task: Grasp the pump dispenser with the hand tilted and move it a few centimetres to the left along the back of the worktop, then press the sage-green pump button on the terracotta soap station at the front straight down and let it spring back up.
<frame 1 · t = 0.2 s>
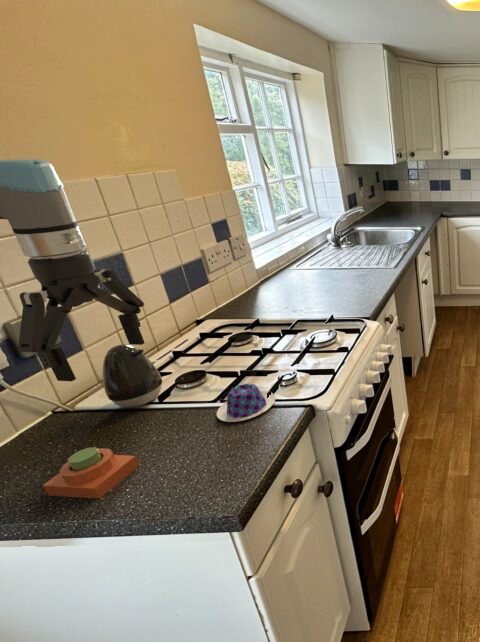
hand: (104, 360, 79), 20 cm above the countertop, tool pointing down, fingers open, 13 cm apart
button: (85, 459, 75), point 5 cm above the countertop, slide at 0.1 cm
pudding: (247, 408, 98), on the countertop
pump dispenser: (141, 401, 100), on the countertop
soap station: (96, 479, 77), on the countertop
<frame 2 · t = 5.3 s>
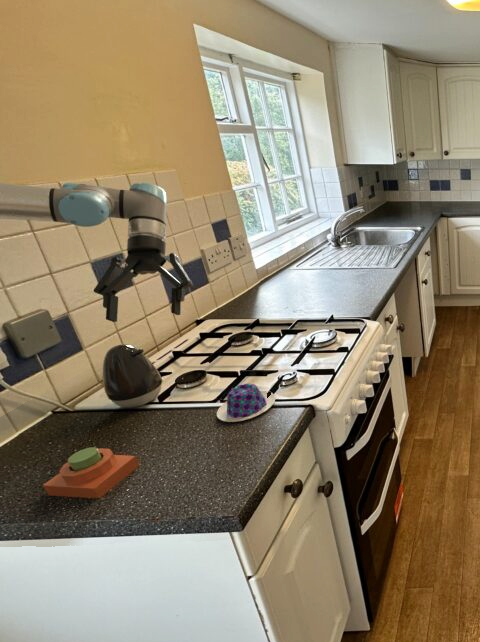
hand: (144, 317, 103), 18 cm above the countertop, tool tilted 40°, fingers open, 13 cm apart
nothing on the countertop moved.
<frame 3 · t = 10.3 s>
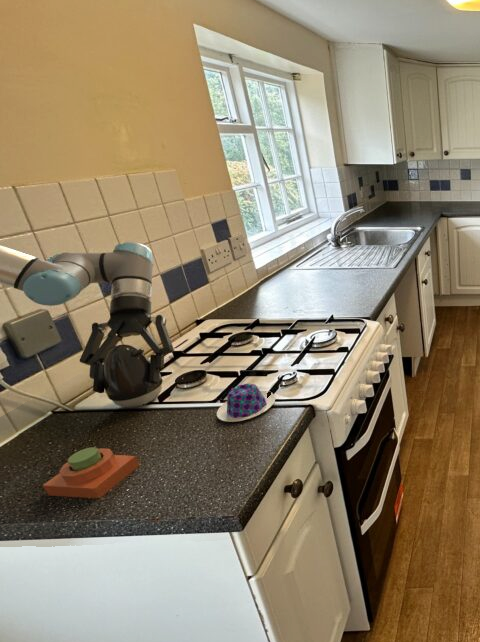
hand: (127, 386, 95), 6 cm above the countertop, tool tilted 45°, fingers closed on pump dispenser, 10 cm apart
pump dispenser: (142, 401, 101), on the countertop, touching gripper
everything else where it was.
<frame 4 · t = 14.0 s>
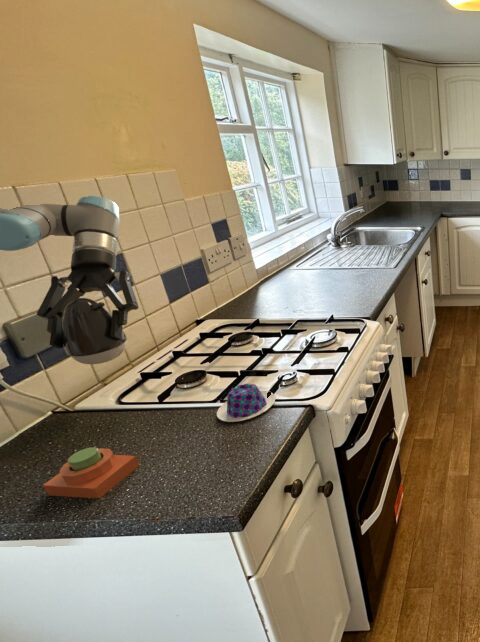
hand: (86, 342, 91), 18 cm above the countertop, tool tilted 45°, fingers closed on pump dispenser, 10 cm apart
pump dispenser: (104, 359, 96), point 11 cm above the countertop, touching gripper
everything else where it was.
when the fingers open (6 cm above the countertop, at t = 17.9 s): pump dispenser stays where it is, on the countertop.
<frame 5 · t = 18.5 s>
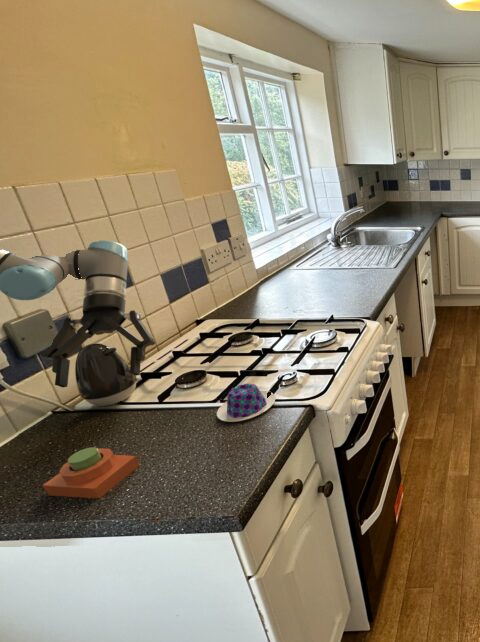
hand: (98, 379, 96), 7 cm above the countertop, tool tilted 45°, fingers open, 13 cm apart
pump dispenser: (115, 399, 101), on the countertop
everything else where it was.
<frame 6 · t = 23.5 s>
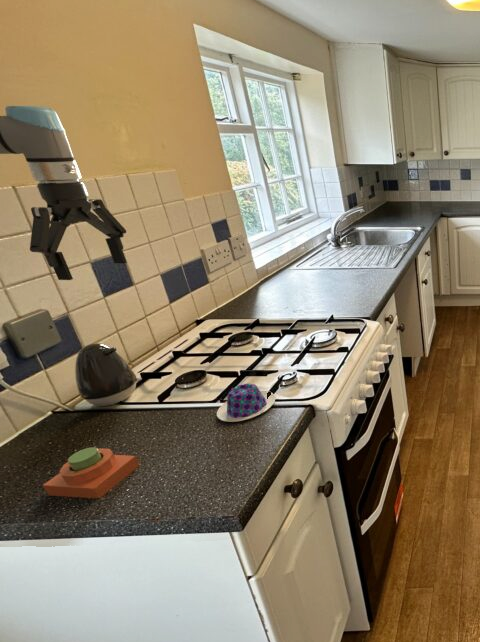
hand: (95, 270, 101), 29 cm above the countertop, tool pointing down, fingers open, 13 cm apart
nothing on the countertop moved.
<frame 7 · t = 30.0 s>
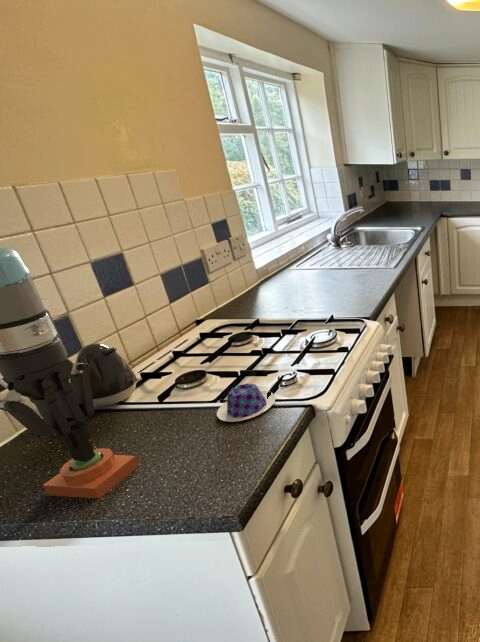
hand: (84, 457, 75), 5 cm above the countertop, tool pointing down, fingers closed
button: (87, 463, 76), point 4 cm above the countertop, slide at -0.9 cm, touching gripper
everything else where it was.
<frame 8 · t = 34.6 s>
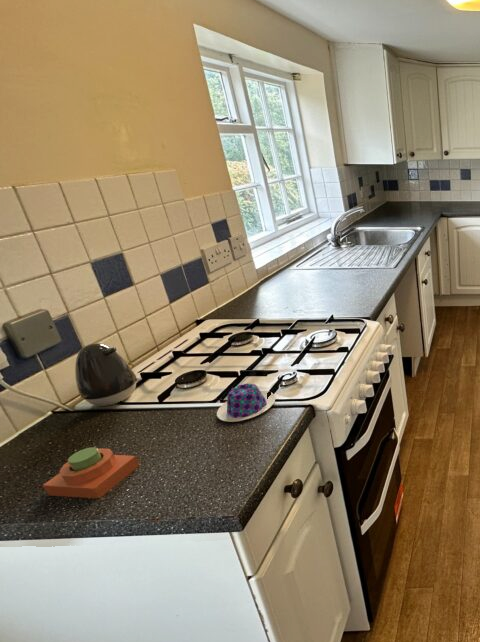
button: (85, 459, 75), point 5 cm above the countertop, slide at 0.1 cm
everything else where it was.
at the end: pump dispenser inside the target area (0.1 cm from its centre), on the countertop; button pushed in 1.2 cm at the most during the clip, back to where it started at the end; button slide at 0.1 cm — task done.
